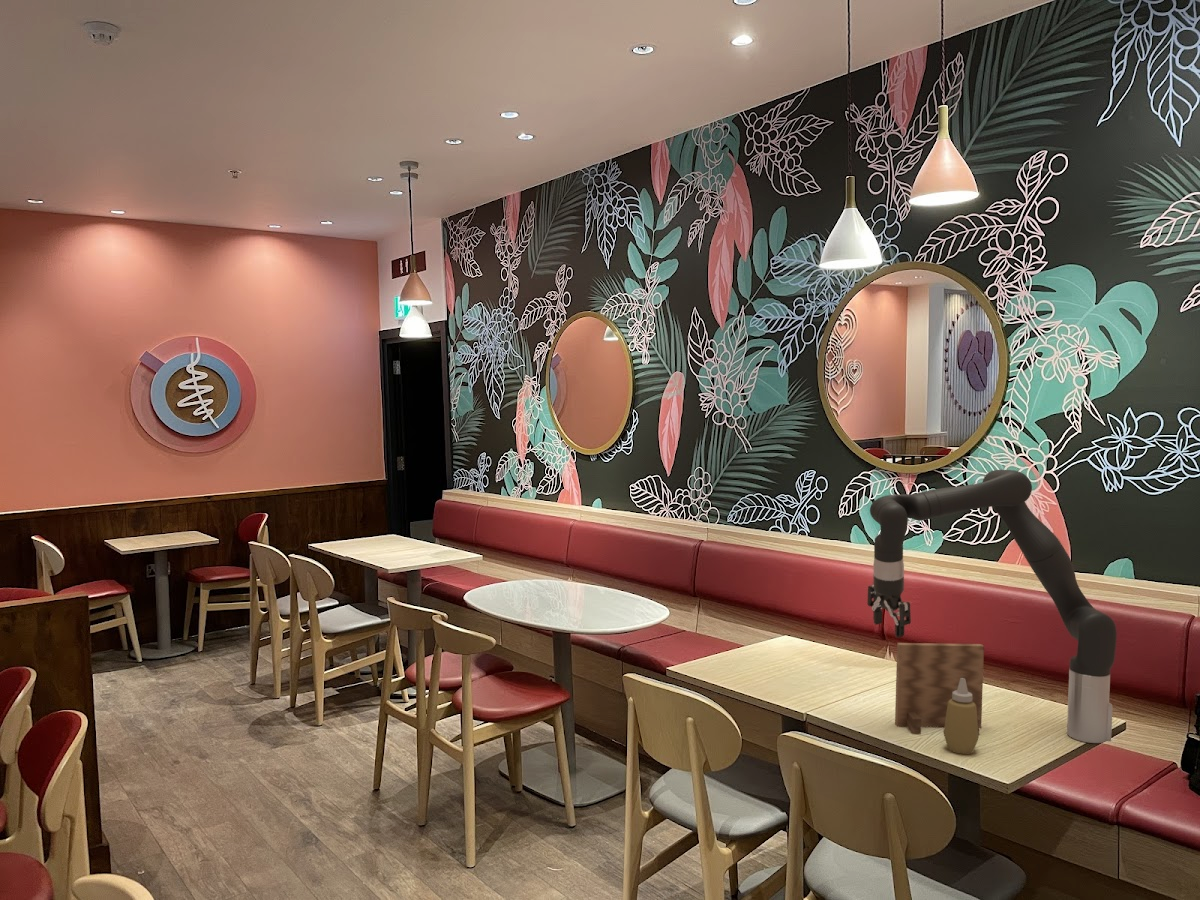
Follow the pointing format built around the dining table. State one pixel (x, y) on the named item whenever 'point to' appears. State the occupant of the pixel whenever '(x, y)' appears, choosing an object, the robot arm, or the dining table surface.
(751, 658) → the dining table surface
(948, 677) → the walnut wall board
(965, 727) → the squeeze bottle
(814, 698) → the dining table surface
